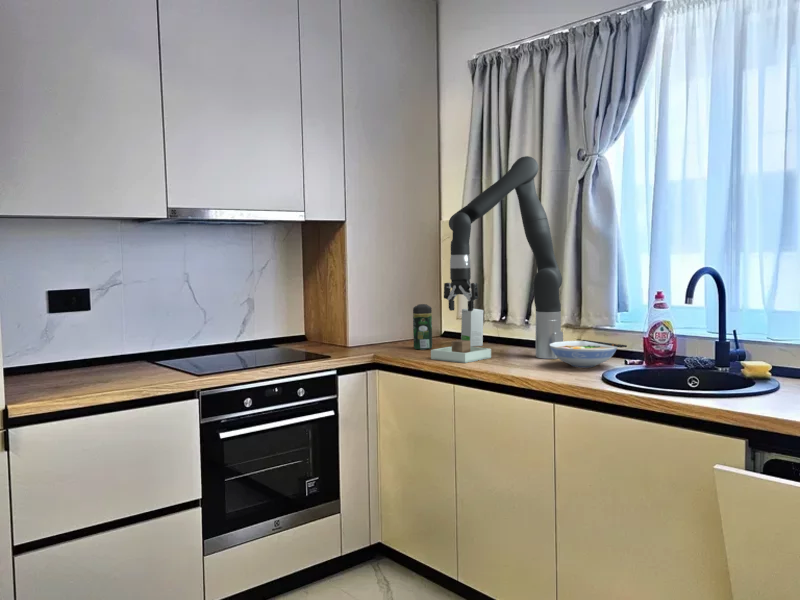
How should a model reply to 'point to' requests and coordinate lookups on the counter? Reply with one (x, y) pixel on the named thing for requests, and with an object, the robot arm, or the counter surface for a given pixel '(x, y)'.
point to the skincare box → (472, 327)
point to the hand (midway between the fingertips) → (461, 310)
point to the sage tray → (460, 354)
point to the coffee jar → (422, 327)
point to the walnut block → (461, 346)
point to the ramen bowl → (584, 352)
